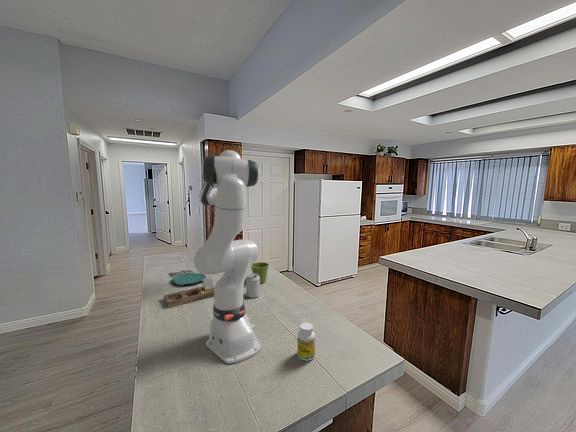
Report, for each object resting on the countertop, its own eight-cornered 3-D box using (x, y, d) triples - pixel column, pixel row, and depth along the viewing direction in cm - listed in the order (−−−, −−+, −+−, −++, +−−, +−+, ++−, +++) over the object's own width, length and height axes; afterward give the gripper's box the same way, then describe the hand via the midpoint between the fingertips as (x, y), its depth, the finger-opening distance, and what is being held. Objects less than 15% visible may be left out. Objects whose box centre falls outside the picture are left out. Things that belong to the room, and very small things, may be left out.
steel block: (213, 294, 137) (212, 280, 136) (205, 296, 134) (204, 282, 134) (210, 291, 141) (210, 277, 140) (202, 293, 138) (202, 279, 137)
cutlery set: (176, 290, 142) (176, 286, 142) (165, 275, 166) (165, 272, 166) (210, 282, 154) (210, 279, 154) (195, 270, 178) (195, 267, 178)
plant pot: (270, 278, 161) (270, 262, 159) (267, 286, 149) (267, 268, 148) (253, 278, 162) (252, 261, 161) (248, 285, 150) (248, 267, 149)
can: (257, 299, 131) (257, 277, 130) (244, 297, 133) (244, 276, 132) (261, 293, 139) (261, 273, 137) (249, 292, 140) (249, 272, 139)
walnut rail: (219, 295, 136) (219, 290, 136) (168, 308, 121) (168, 302, 120) (212, 288, 145) (212, 283, 145) (163, 299, 129) (163, 294, 129)
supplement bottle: (316, 352, 90) (317, 323, 89) (312, 363, 84) (312, 332, 83) (300, 348, 92) (300, 319, 91) (294, 358, 86) (295, 328, 85)
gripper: (236, 210, 135) (236, 235, 137) (222, 207, 151) (222, 229, 153) (225, 211, 131) (226, 236, 133) (212, 208, 148) (212, 230, 149)
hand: (224, 232), depth 143 cm, fingers open, 8 cm apart
